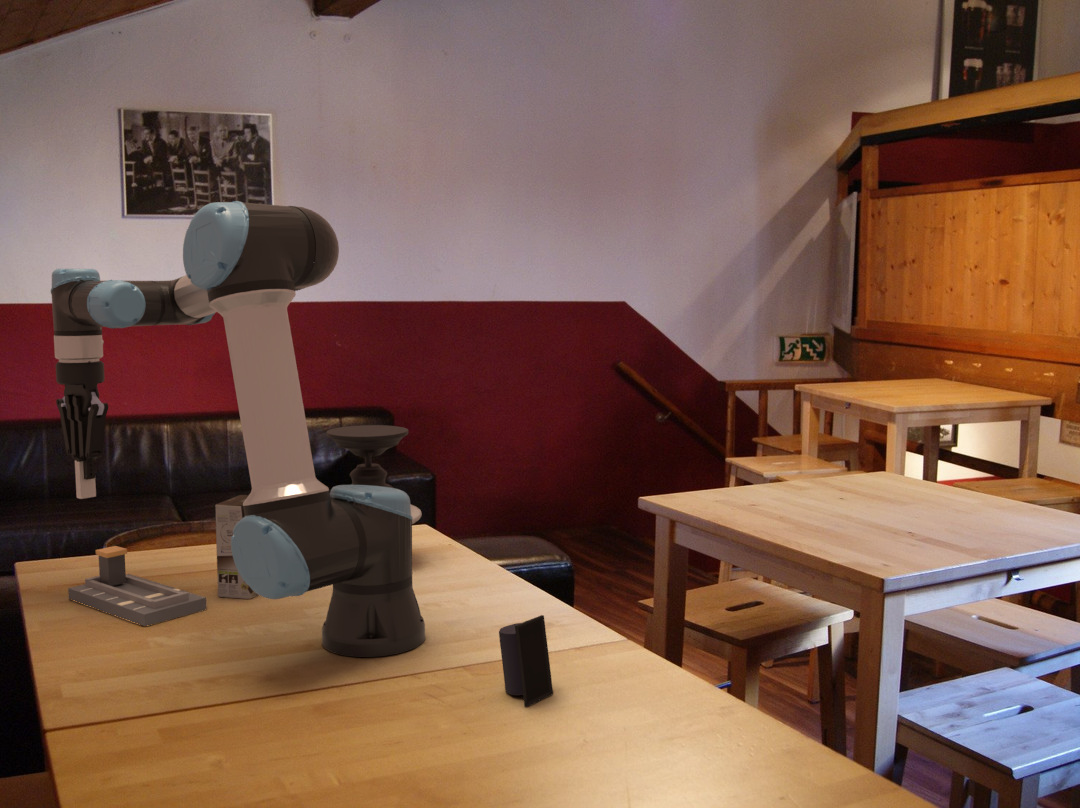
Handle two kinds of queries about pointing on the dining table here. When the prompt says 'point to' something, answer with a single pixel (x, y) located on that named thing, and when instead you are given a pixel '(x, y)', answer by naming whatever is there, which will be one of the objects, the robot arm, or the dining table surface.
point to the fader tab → (112, 565)
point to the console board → (138, 599)
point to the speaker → (526, 660)
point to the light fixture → (370, 452)
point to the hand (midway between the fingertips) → (86, 497)
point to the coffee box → (229, 549)
